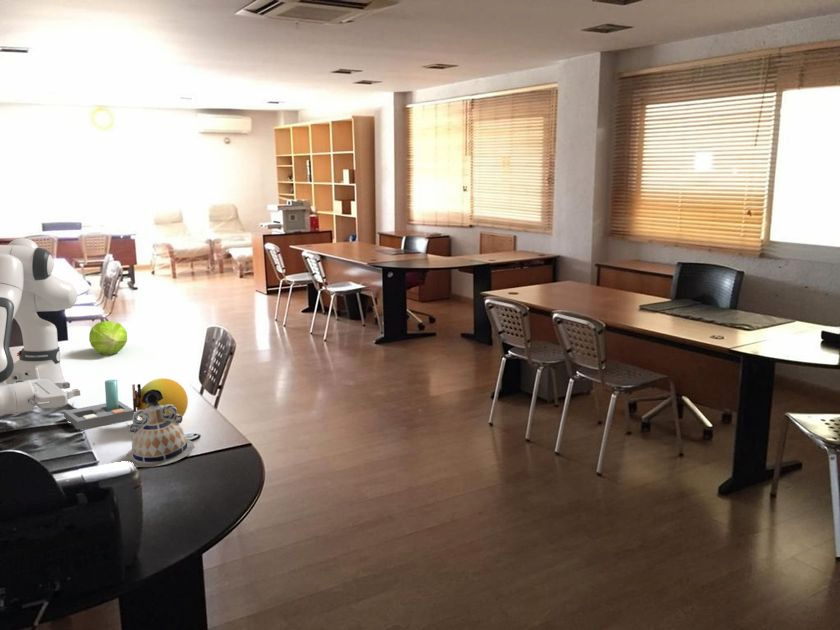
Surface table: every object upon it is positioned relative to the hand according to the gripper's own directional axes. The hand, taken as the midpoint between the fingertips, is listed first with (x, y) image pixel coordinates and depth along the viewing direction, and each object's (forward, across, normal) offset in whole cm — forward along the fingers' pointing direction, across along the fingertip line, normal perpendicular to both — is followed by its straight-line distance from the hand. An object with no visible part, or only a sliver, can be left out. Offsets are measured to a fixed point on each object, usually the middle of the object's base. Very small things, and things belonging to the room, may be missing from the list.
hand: (74, 388), depth 209 cm
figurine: (+9, -41, +11) cm, 43 cm away
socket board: (+7, -1, +12) cm, 13 cm away
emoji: (+19, -19, +12) cm, 29 cm away
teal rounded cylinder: (+11, -1, +12) cm, 16 cm away
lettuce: (+41, +89, +14) cm, 99 cm away
